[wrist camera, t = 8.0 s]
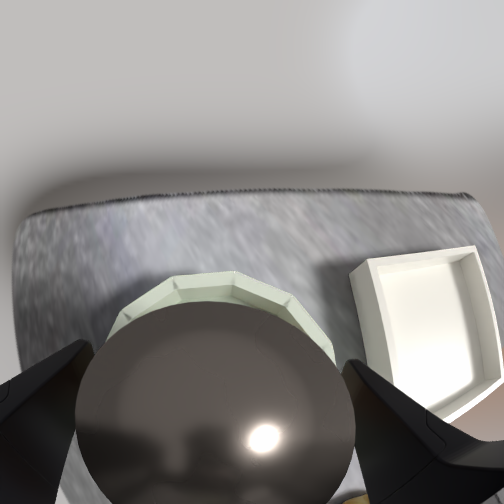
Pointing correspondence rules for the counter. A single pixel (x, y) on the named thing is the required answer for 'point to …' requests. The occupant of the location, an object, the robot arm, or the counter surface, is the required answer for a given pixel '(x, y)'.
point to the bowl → (226, 290)
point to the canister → (214, 411)
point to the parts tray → (430, 327)
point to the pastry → (358, 500)
